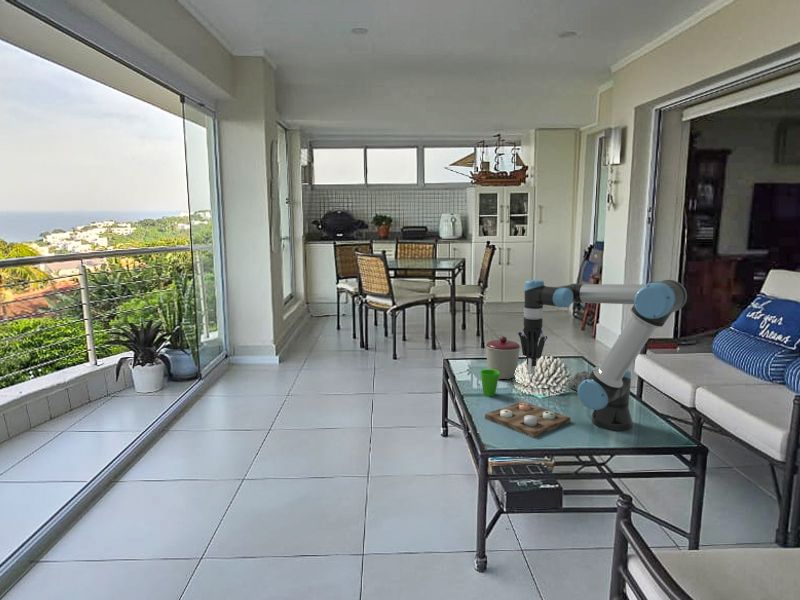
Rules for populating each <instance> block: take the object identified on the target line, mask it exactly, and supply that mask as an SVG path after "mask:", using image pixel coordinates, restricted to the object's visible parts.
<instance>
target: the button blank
mask: <svg viewBox="0 0 800 600" xmlns="http://www.w3.org/2000/svg"><path fill="white" fill-rule="evenodd" d="M524 425H525V426H527V427H530V428H534V427H536V426H537V417H535V416H532V415H526V416H524Z"/></svg>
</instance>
